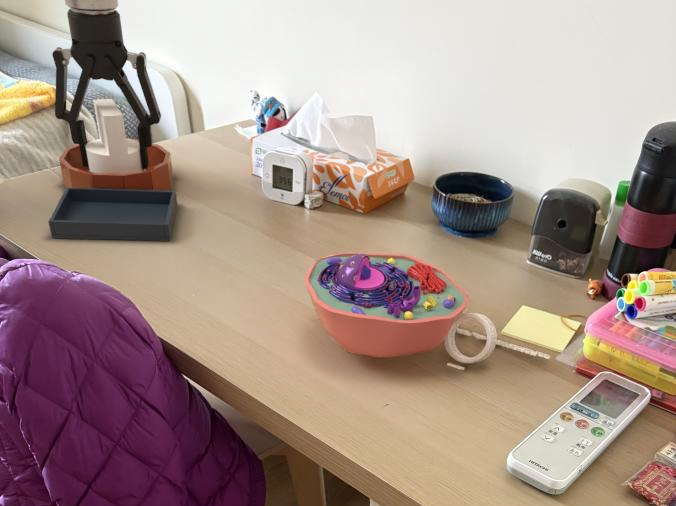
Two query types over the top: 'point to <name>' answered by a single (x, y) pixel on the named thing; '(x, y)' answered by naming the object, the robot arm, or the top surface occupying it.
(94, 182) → the terracotta bowl
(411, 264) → the cell model
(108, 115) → the base with upright slab
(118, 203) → the tray
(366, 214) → the top surface
